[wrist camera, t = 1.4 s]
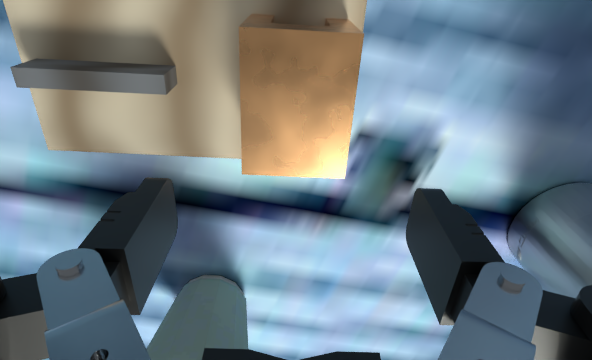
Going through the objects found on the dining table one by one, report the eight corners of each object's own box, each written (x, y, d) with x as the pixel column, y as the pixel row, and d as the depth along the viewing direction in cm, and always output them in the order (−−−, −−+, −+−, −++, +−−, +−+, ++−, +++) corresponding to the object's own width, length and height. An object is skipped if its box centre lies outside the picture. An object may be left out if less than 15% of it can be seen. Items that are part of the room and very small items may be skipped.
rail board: (365, -17, 23) (377, -15, 20) (343, 154, 29) (349, 179, 26) (8, -39, 23) (-44, -40, 19) (59, 141, 29) (27, 165, 25)
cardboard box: (251, 13, 23) (238, 26, 18) (348, 19, 23) (364, 33, 18) (252, 134, 27) (242, 174, 22) (334, 138, 27) (344, 178, 22)
